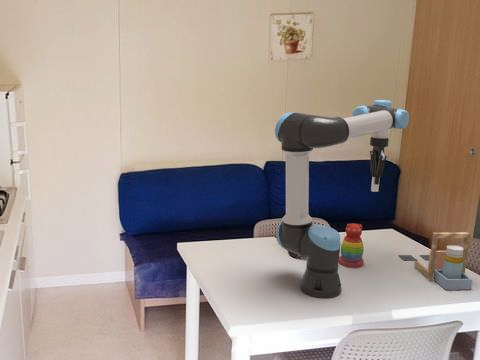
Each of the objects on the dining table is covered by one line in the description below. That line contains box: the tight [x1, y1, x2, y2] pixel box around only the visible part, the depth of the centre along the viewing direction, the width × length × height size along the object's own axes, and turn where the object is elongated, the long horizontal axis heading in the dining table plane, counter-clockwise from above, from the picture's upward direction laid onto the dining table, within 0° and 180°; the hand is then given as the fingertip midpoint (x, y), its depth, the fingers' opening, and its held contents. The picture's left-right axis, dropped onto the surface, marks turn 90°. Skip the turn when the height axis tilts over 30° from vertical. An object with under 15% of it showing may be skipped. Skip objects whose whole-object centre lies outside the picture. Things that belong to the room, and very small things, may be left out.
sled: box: [427, 250, 473, 291], centre depth 216 cm, size 10×18×9 cm, turn 8°
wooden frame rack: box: [413, 231, 472, 282], centre depth 222 cm, size 15×14×20 cm
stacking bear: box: [339, 222, 365, 269], centre depth 229 cm, size 11×10×18 cm
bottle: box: [442, 244, 464, 279], centre depth 213 cm, size 7×7×15 cm
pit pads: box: [398, 254, 430, 262], centre depth 241 cm, size 16×6×1 cm, turn 98°
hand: (374, 191), depth 236 cm, fingers closed
